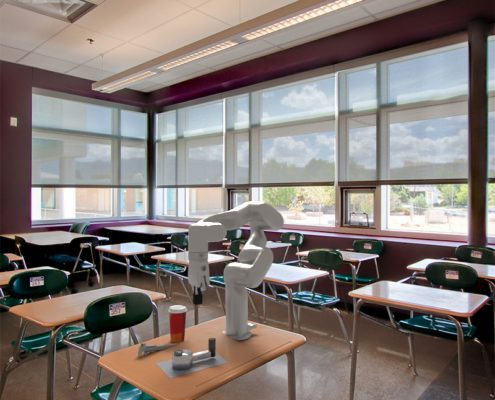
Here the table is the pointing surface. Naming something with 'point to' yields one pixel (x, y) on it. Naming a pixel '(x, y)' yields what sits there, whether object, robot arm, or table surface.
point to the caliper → (152, 348)
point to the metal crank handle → (192, 356)
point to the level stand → (197, 365)
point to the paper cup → (177, 323)
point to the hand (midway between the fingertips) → (197, 303)
